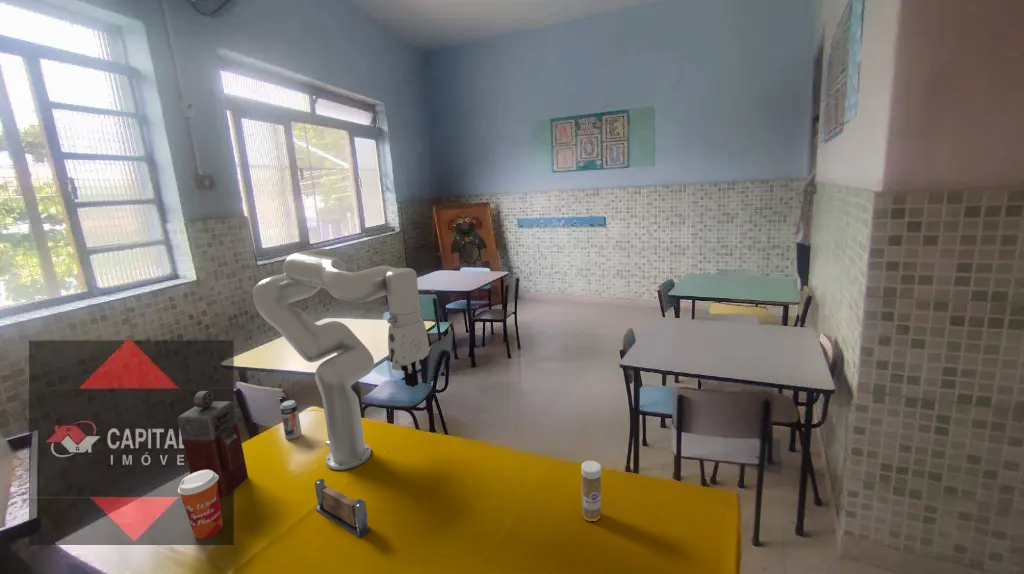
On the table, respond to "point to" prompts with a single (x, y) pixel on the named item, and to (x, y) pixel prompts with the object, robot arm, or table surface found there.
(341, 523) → the gate posts
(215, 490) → the paper cup
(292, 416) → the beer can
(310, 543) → the table surface
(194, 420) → the vintage gas pump
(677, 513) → the table surface
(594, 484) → the sprinkles bottle
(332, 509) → the gate
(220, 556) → the table surface
